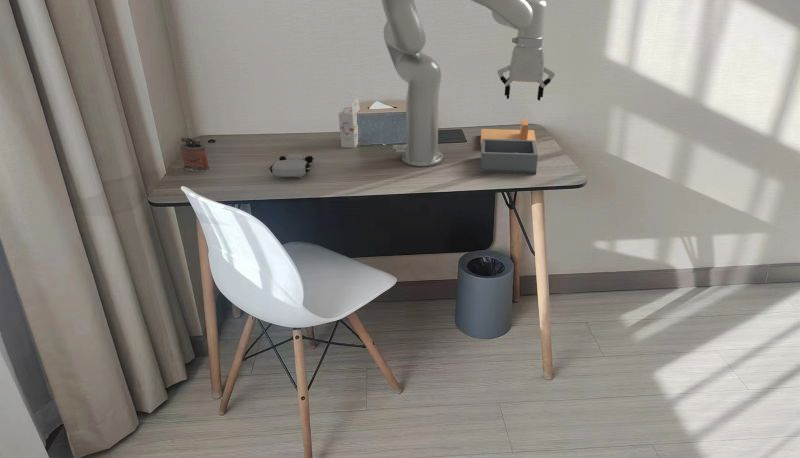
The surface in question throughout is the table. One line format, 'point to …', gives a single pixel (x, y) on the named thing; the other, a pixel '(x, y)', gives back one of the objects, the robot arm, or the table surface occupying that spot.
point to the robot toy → (291, 166)
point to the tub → (508, 156)
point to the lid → (509, 133)
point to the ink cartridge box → (349, 125)
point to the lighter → (194, 154)
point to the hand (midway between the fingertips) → (523, 98)
